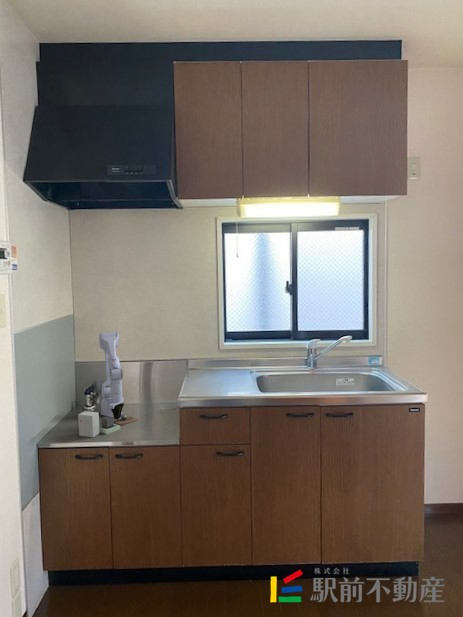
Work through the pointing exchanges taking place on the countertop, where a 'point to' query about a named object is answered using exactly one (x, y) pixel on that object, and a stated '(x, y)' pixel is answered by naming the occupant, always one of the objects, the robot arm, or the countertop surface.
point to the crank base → (125, 420)
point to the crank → (120, 417)
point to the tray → (110, 430)
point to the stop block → (107, 422)
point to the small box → (88, 424)
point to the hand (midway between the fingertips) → (117, 418)
